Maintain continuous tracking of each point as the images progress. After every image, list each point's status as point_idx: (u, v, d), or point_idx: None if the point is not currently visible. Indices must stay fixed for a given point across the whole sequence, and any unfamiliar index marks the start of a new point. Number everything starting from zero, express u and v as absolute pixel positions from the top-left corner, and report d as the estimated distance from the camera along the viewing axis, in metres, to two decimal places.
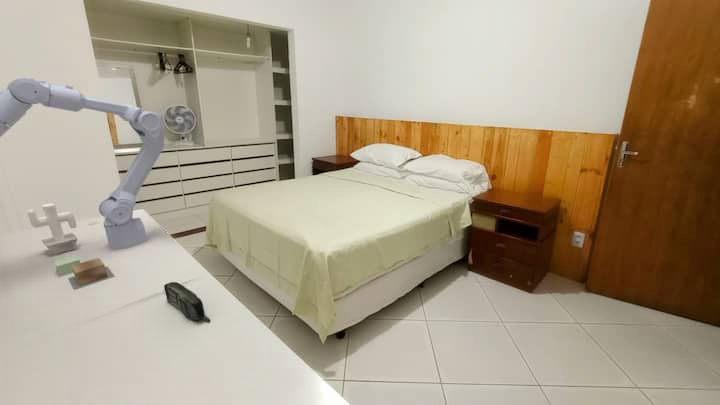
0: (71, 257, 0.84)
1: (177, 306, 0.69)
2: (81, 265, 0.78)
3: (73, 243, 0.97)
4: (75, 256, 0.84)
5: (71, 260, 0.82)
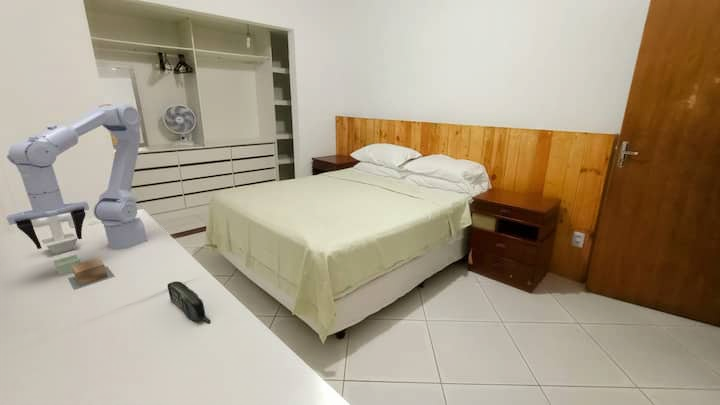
0: (71, 257, 0.84)
1: (179, 306, 0.69)
2: (81, 265, 0.78)
3: (73, 243, 0.97)
4: (75, 256, 0.84)
5: (71, 260, 0.82)
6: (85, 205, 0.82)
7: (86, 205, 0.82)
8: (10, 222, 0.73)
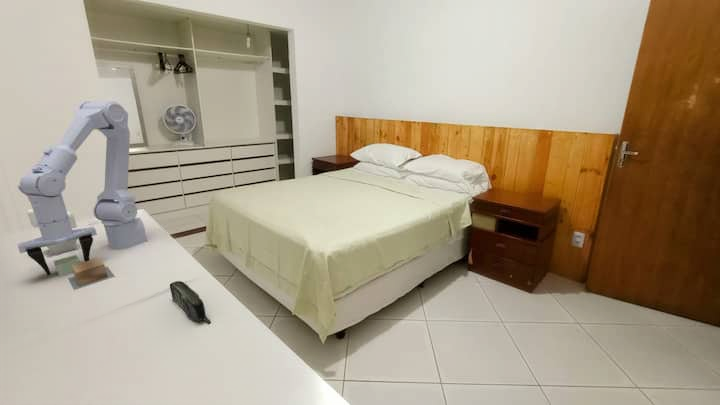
0: (71, 257, 0.84)
1: (181, 305, 0.69)
2: (81, 265, 0.78)
3: (73, 243, 0.97)
4: (75, 256, 0.84)
5: (71, 260, 0.82)
6: (93, 231, 0.84)
7: (94, 231, 0.84)
8: (21, 251, 0.75)
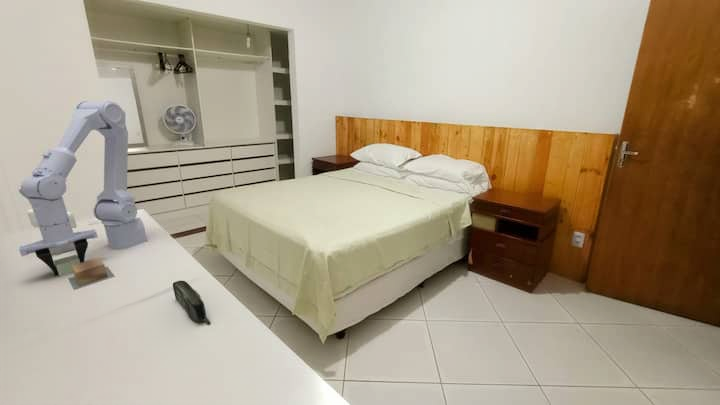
0: (71, 257, 0.84)
1: (182, 305, 0.69)
2: (81, 265, 0.78)
3: (73, 243, 0.97)
4: (75, 256, 0.84)
5: (71, 260, 0.82)
6: (94, 233, 0.85)
7: (94, 233, 0.85)
8: (22, 254, 0.75)
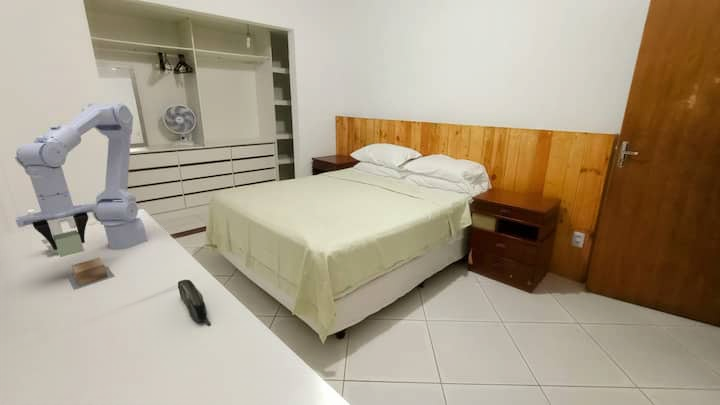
0: (71, 232, 0.80)
1: (186, 304, 0.70)
2: (81, 265, 0.78)
3: None
4: (75, 231, 0.80)
5: (71, 235, 0.78)
6: (94, 207, 0.81)
7: (95, 207, 0.81)
8: (19, 224, 0.71)
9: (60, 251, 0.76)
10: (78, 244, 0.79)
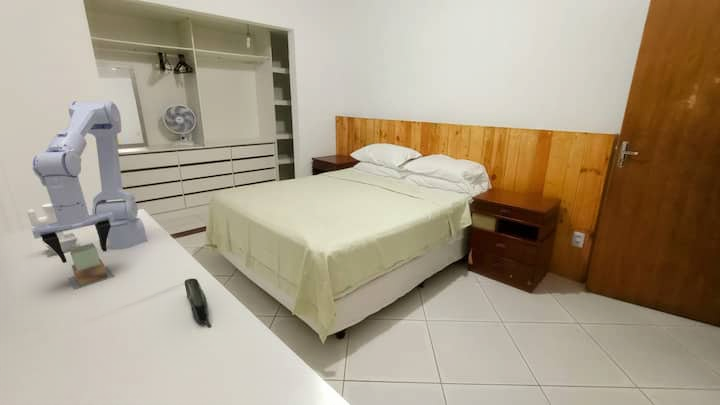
0: (87, 245, 0.79)
1: None
2: None
3: (73, 243, 0.97)
4: (91, 244, 0.79)
5: (87, 248, 0.77)
6: (110, 216, 0.79)
7: (111, 216, 0.79)
8: (35, 236, 0.70)
9: (77, 265, 0.75)
10: (94, 258, 0.78)
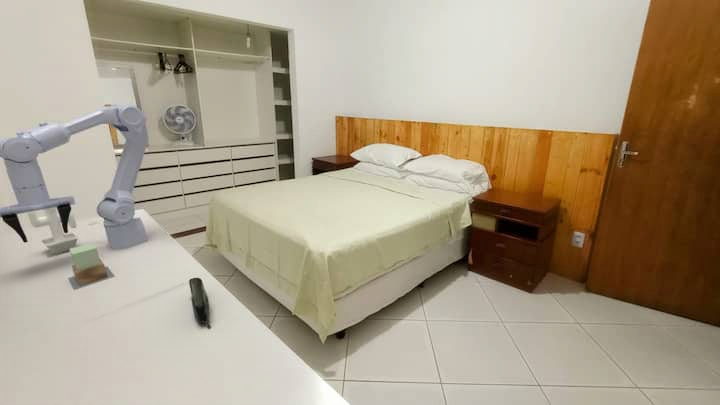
0: (87, 245, 0.79)
1: None
2: None
3: (73, 243, 0.97)
4: (91, 244, 0.79)
5: (87, 248, 0.77)
6: (71, 200, 0.84)
7: (72, 200, 0.84)
8: None
9: (77, 265, 0.75)
10: (94, 258, 0.78)
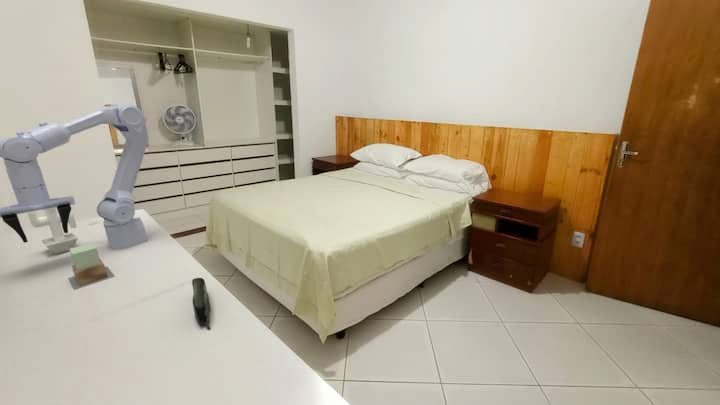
0: (87, 245, 0.79)
1: None
2: None
3: (73, 243, 0.97)
4: (91, 244, 0.79)
5: (87, 248, 0.77)
6: (71, 200, 0.84)
7: (72, 200, 0.84)
8: None
9: (77, 265, 0.75)
10: (94, 258, 0.78)
